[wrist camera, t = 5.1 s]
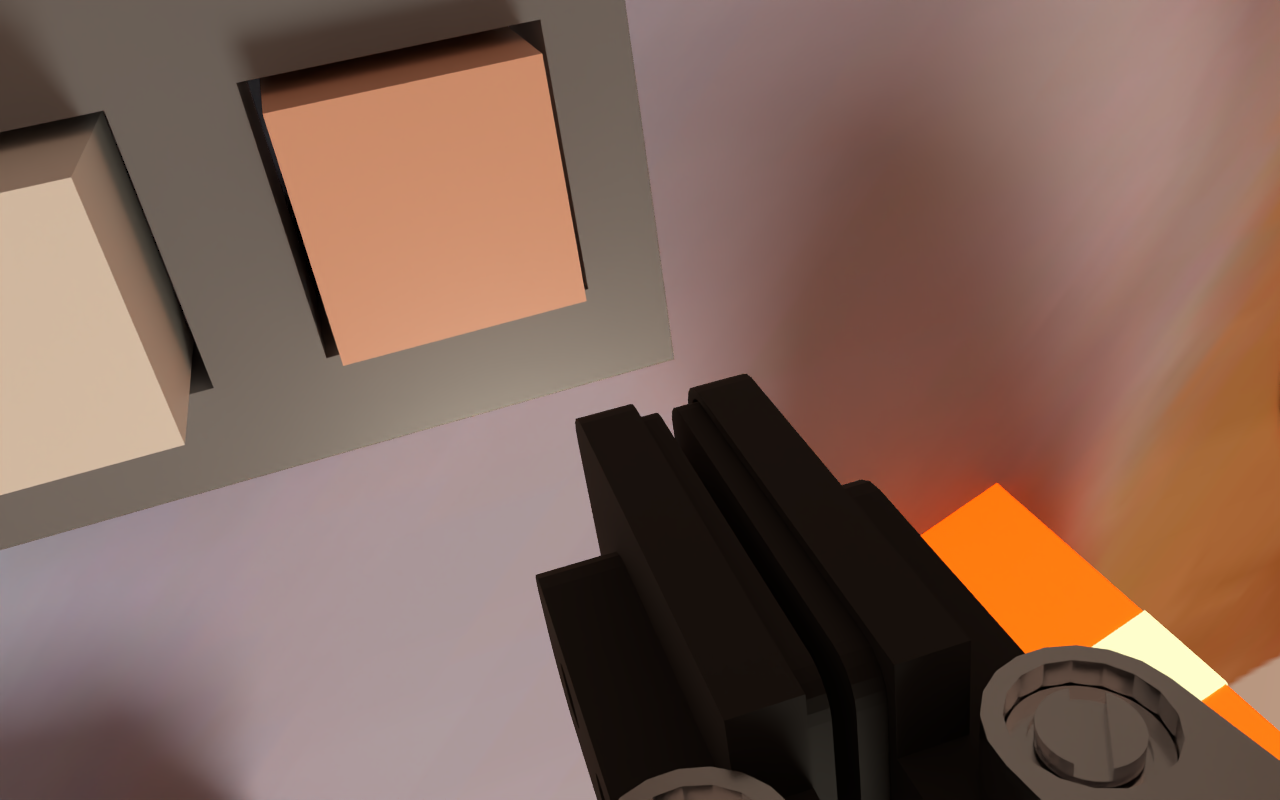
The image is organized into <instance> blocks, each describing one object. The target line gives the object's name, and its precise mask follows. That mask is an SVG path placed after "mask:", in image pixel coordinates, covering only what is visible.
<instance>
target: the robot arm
mask: <svg viewBox="0 0 1280 800" xmlns="http://www.w3.org/2000/svg"><path fill="white" fill-rule="evenodd" d="M672 421H673V429H674V436H675V438H674V437H673V435H672V433H671V432H670V430H669V429H668V427H667V425H666V424H665V422H664V421H663V419H662V417H661V416H660V415H659V414H658V413H654V414H650V415H647V416H643V417H641V416H640V414H639V413H638V411H637V409H636V408H635V407H634V405H633V404H629V405H626V406H622V407H618V408H614V409H611V410H607V411H603V412H600V413H596V414H592V415H588V416H585V417H581V418H577V419H576V422H575V424H576V433H577V438H578V444H579V449H580V454H581V459H582V464H583V469H584V473H585V478H586V483H587V488H588V493H589V498H590V503H591V508H592V513H593V518H594V523H595V528H596V533H597V538H598V543H599V548H600V553H601V556H599V557H595V558H592V559H589V560H585V561H582V562H578V563H575V564H571V565H568V566H565V567H561V568H558V569H554V570H551V571H548V572H544V573H541V574H537V575H536V582H537V587H538V591H539V595H540V600H541V604H542V608H543V612H544V616H545V620H546V624H547V629H548V633H549V637H550V641H551V645H552V649H553V652H554V656H555V660H556V664H557V668H558V671H559V675H560V679H561V682H562V686H563V689H564V693H565V696H566V700H567V703H568V707H569V710H570V714H571V717H572V720H573V724H574V727H575V730H576V733H577V736H578V740H579V743H580V746H581V749H582V752H583V756H584V759H585V762H586V765H587V768H588V772H589V775H590V778H591V781H592V784H593V788H594V791H595V794H596V797H597V800H1280V760H1278V759H1277V758H1276V757H1274V756H1273V755H1272V754H1271V753H1269V752H1268V751H1267V750H1265V749H1264V748H1263V747H1261V746H1260V745H1259V744H1257V743H1256V742H1255V741H1253V740H1252V739H1251V738H1249V737H1248V736H1247V735H1245V734H1244V733H1243V732H1241V731H1240V730H1239V729H1238V728H1236V727H1235V726H1234V725H1232V724H1231V723H1230V722H1228V721H1227V720H1226V719H1224V718H1223V717H1222V716H1220V715H1219V714H1218V713H1216V712H1215V711H1214V710H1212V709H1211V708H1210V707H1209V706H1207V705H1206V704H1205V703H1203V702H1202V701H1201V700H1199V699H1198V698H1197V697H1195V696H1194V695H1193V694H1191V693H1190V692H1189V691H1187V690H1186V689H1185V688H1183V687H1182V686H1181V685H1180V684H1178V683H1177V682H1176V681H1174V680H1173V679H1172V678H1170V677H1168V676H1167V675H1165V674H1163V673H1162V672H1160V671H1158V670H1157V669H1155V668H1153V667H1152V666H1150V665H1148V664H1146V663H1145V662H1143V661H1141V660H1138V659H1135V658H1132V657H1129V656H1126V655H1123V654H1121V653H1118V652H1115V651H1112V650H1108V649H1101V648H1093V647H1086V646H1078V645H1072V646H1058V647H1044V648H1041V649H1038V650H1035V651H1032V652H1029V653H1026V654H1025V653H1024V652H1023V650H1022V649H1021V648H1020V647H1019V646H1018V645H1017V644H1016V643H1015V641H1014V640H1013V639H1012V638H1011V637H1010V636H1009V635H1008V634H1007V632H1006V631H1005V630H1004V629H1003V628H1002V627H1001V626H1000V625H999V623H998V622H997V621H996V620H995V619H994V618H993V617H992V616H991V614H990V613H989V612H988V611H987V610H986V609H985V608H984V607H983V605H982V604H981V603H980V602H979V601H978V600H977V599H976V598H975V596H974V595H973V594H972V593H971V592H970V591H969V590H968V589H967V587H966V586H965V585H964V584H963V583H962V582H961V581H960V580H959V578H958V577H957V576H956V575H955V574H954V573H953V572H952V571H951V569H950V568H949V567H948V566H947V565H946V564H945V563H944V562H943V560H942V559H941V558H940V557H939V556H938V555H937V554H936V553H935V551H934V550H933V549H932V548H931V547H930V546H929V545H928V544H927V542H926V541H925V540H924V539H923V538H922V537H921V536H920V535H919V533H918V532H917V531H916V530H915V529H914V528H913V527H912V526H911V524H910V523H909V522H908V521H907V520H906V519H905V518H904V517H903V515H902V514H901V513H900V512H899V511H898V510H897V509H896V508H895V506H894V505H893V504H892V503H891V502H890V501H889V500H888V499H887V497H886V496H885V495H884V494H883V493H882V492H881V491H880V490H879V489H878V488H877V487H876V486H875V485H873V484H872V483H871V482H870V481H866V480H858V481H855V482H852V483H848V484H845V485H841V484H840V483H839V482H838V481H837V479H836V478H835V477H834V476H833V475H832V473H831V472H830V471H829V470H828V469H827V467H826V466H825V465H824V464H823V463H822V461H821V460H820V459H819V458H818V457H817V455H816V454H815V453H814V452H813V451H812V449H811V448H810V447H809V446H808V445H807V444H806V442H805V441H804V440H803V439H802V438H801V436H800V435H799V434H798V433H797V432H796V430H795V429H794V428H793V427H792V426H791V424H790V423H789V422H788V421H787V420H786V418H785V417H784V416H783V415H782V414H781V412H780V411H779V410H778V409H777V408H776V406H775V405H774V404H773V403H772V402H771V401H770V399H769V398H768V397H767V396H766V395H765V393H764V392H763V391H762V390H761V389H760V387H759V386H758V385H757V384H756V383H755V381H754V380H753V379H752V378H751V377H750V376H749V375H748V374H741V375H737V376H733V377H730V378H726V379H722V380H719V381H715V382H711V383H707V384H704V385H700V386H696V387H693V388H690V390H689V393H688V404H687V405H684V406H680V407H676V408H673V411H672Z"/></svg>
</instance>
